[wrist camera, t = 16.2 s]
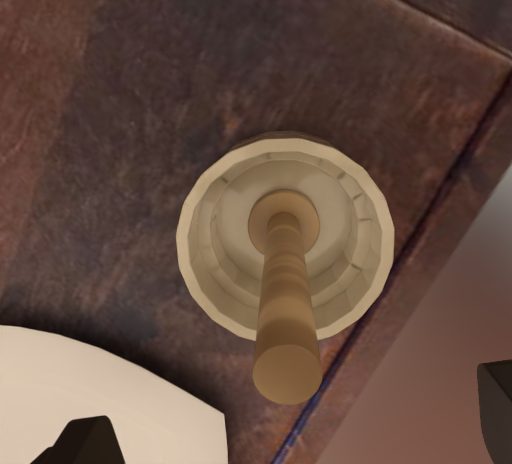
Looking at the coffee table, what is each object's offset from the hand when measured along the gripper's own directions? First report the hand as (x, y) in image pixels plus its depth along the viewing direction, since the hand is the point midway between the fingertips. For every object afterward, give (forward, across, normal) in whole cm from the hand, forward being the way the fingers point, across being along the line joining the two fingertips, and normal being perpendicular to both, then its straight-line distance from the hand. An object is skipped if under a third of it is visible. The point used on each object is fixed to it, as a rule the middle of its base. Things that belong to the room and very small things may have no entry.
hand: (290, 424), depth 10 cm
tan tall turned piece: (+17, 0, 0) cm, 17 cm away
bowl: (+18, 0, 0) cm, 18 cm away
